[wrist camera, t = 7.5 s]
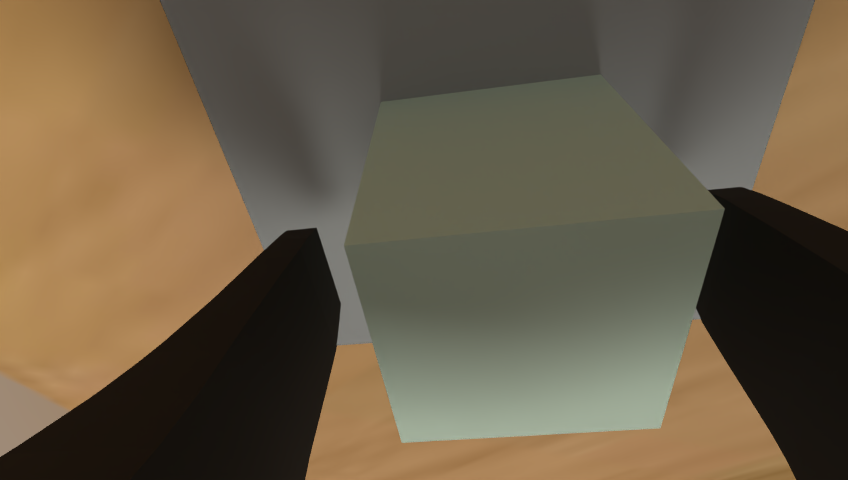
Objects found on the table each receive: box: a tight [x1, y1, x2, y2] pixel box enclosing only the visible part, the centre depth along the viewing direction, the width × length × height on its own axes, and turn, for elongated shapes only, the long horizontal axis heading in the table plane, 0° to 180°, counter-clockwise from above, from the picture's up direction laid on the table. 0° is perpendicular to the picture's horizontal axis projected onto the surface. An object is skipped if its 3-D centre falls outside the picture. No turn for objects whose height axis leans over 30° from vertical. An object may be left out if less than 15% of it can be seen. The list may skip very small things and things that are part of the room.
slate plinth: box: [160, 0, 815, 345], centre depth 12 cm, size 12×10×2 cm
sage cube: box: [344, 74, 725, 443], centre depth 9 cm, size 4×4×5 cm
